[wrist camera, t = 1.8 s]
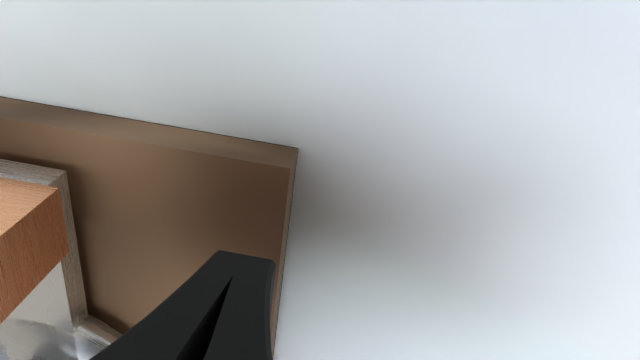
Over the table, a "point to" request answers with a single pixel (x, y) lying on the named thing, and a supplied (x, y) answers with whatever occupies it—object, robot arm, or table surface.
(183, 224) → the walnut board
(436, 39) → the table surface
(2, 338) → the dial plate
